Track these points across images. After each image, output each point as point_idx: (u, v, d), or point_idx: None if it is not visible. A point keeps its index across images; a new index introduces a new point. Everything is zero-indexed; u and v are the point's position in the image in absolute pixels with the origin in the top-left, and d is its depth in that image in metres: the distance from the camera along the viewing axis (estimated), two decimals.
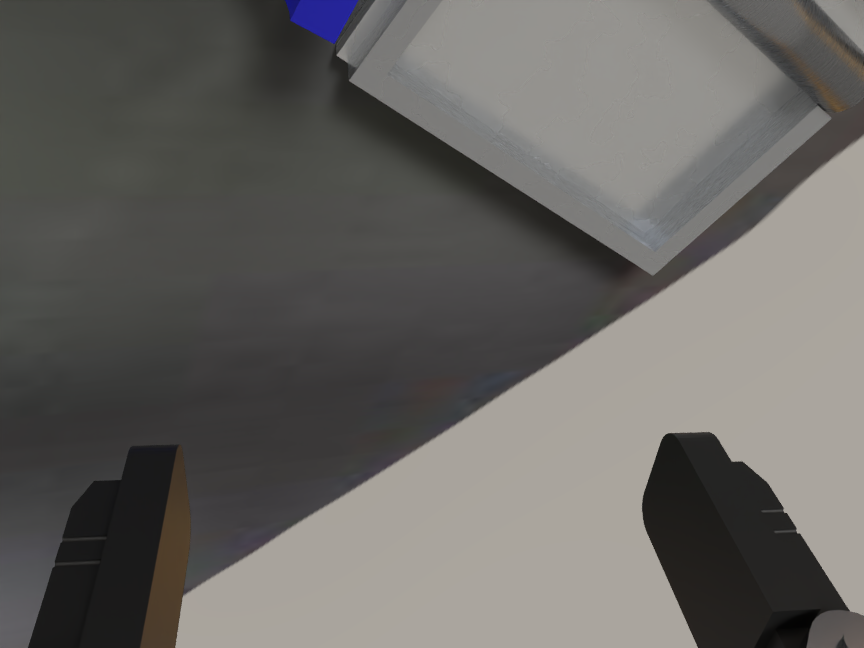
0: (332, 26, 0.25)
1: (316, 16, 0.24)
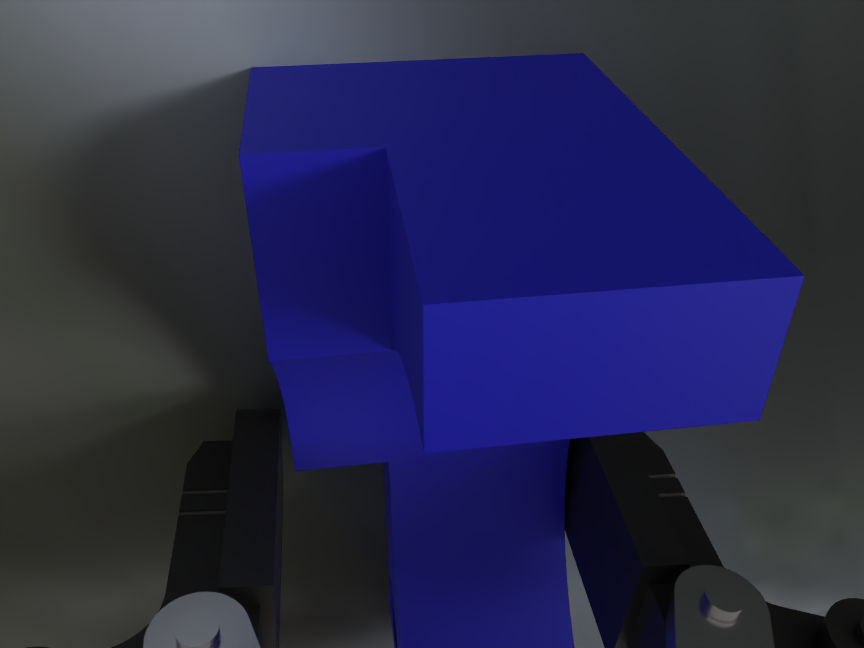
0: None
1: None
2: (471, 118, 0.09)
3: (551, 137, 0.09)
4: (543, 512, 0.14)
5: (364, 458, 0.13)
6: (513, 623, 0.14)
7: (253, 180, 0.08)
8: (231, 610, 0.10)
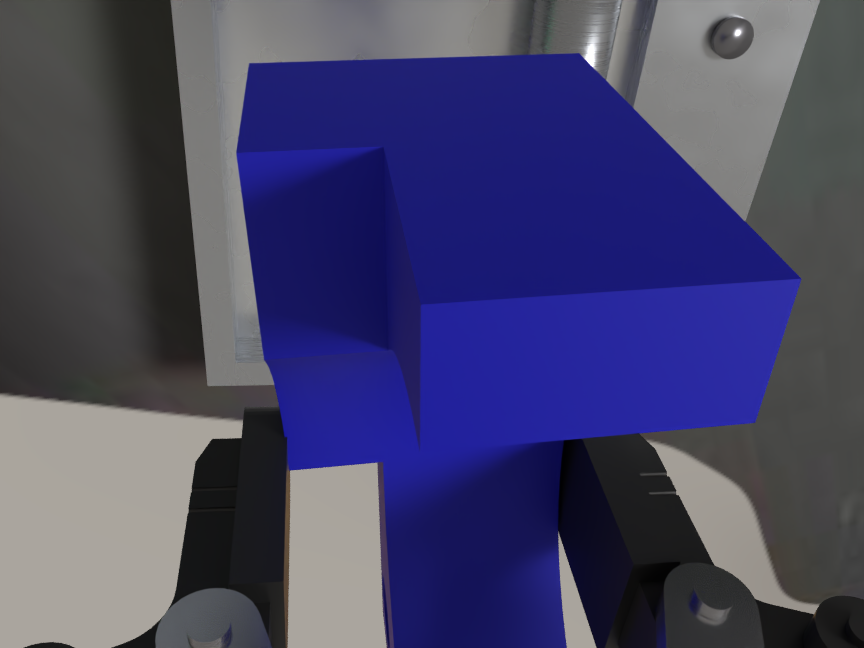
0: None
1: None
2: (468, 117, 0.09)
3: (549, 138, 0.09)
4: (537, 514, 0.14)
5: (358, 458, 0.13)
6: (506, 624, 0.14)
7: (250, 178, 0.08)
8: (242, 606, 0.10)
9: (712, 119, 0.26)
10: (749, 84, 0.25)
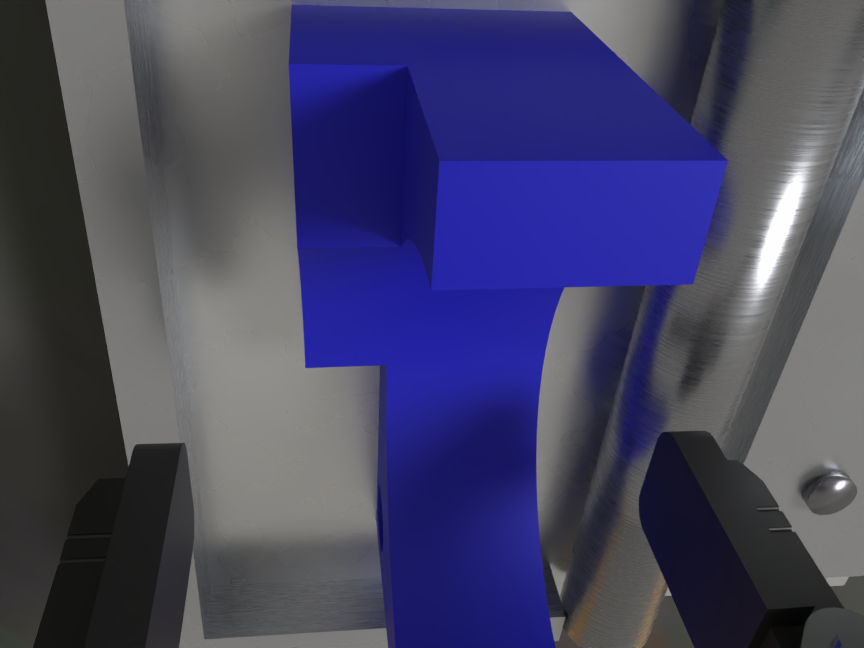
0: None
1: None
2: (476, 50, 0.11)
3: (542, 67, 0.11)
4: (519, 422, 0.16)
5: (366, 360, 0.15)
6: (487, 518, 0.16)
7: (298, 86, 0.10)
8: None
9: None
10: None
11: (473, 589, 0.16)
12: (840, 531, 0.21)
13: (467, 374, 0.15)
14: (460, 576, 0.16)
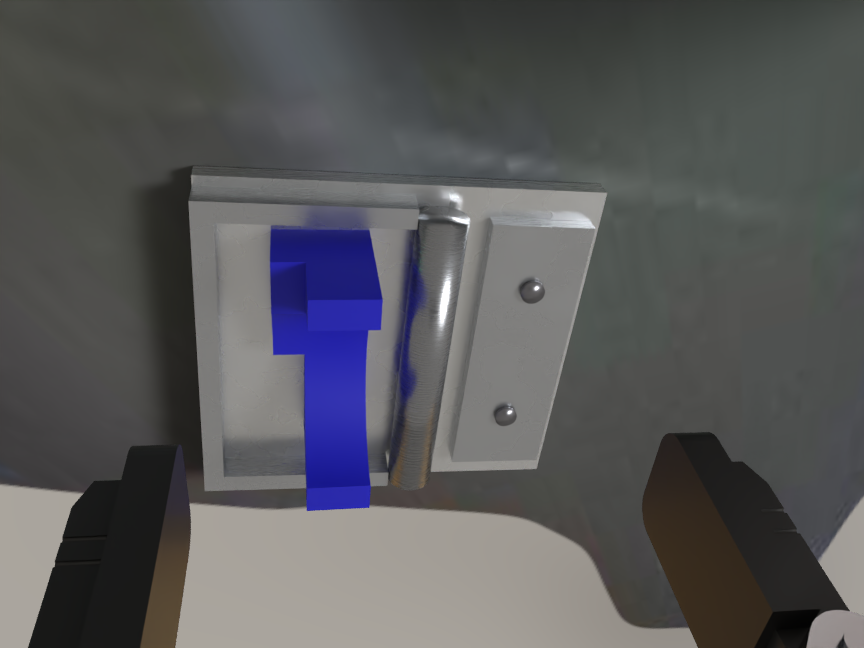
0: (316, 506, 0.39)
1: (317, 497, 0.38)
2: (329, 254, 0.35)
3: (347, 261, 0.35)
4: (358, 378, 0.40)
5: (296, 352, 0.39)
6: (345, 416, 0.40)
7: (272, 268, 0.34)
8: None
9: (526, 333, 0.41)
10: (547, 314, 0.41)
11: (338, 443, 0.40)
12: (517, 435, 0.45)
13: (336, 358, 0.39)
14: (333, 438, 0.40)
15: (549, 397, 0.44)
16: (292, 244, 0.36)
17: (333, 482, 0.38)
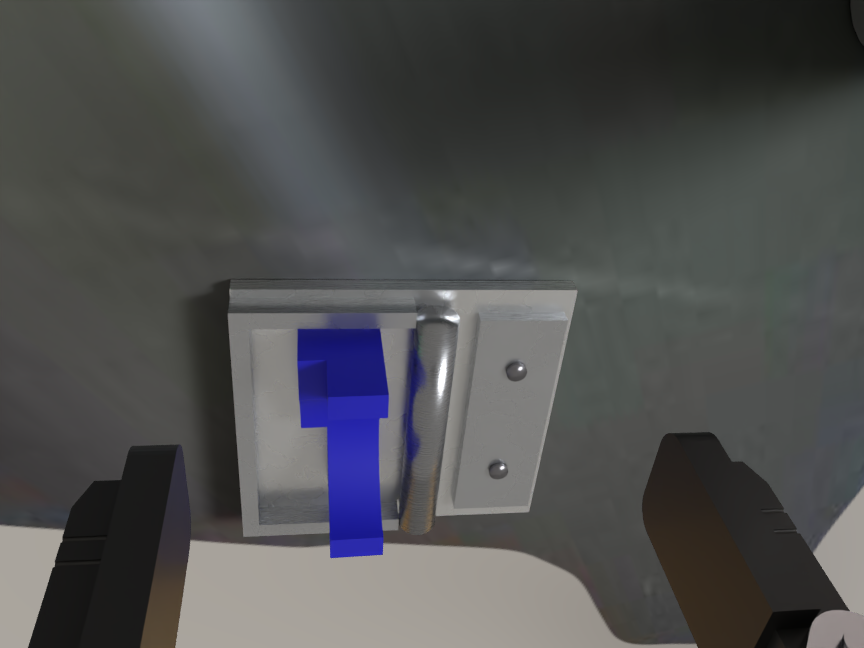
0: (338, 554, 0.46)
1: (339, 547, 0.46)
2: (345, 351, 0.43)
3: (360, 358, 0.42)
4: (372, 445, 0.47)
5: (320, 425, 0.46)
6: (362, 477, 0.47)
7: (299, 365, 0.42)
8: None
9: (513, 404, 0.48)
10: (530, 388, 0.48)
11: (356, 500, 0.47)
12: (510, 486, 0.52)
13: (353, 429, 0.47)
14: (351, 496, 0.47)
15: (536, 454, 0.51)
16: (315, 342, 0.43)
17: (352, 534, 0.46)
